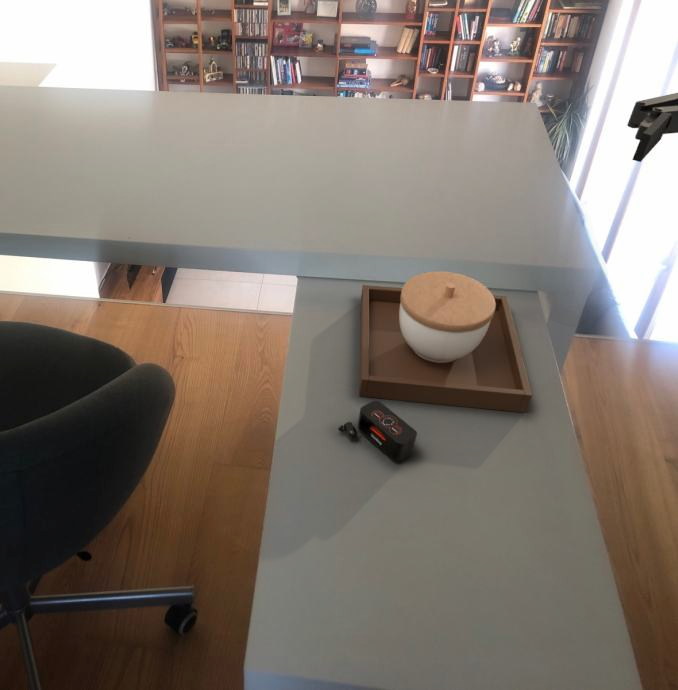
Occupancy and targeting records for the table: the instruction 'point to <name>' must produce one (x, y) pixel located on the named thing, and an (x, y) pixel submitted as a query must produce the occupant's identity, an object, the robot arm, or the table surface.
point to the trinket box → (444, 315)
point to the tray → (439, 378)
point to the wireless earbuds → (383, 430)
